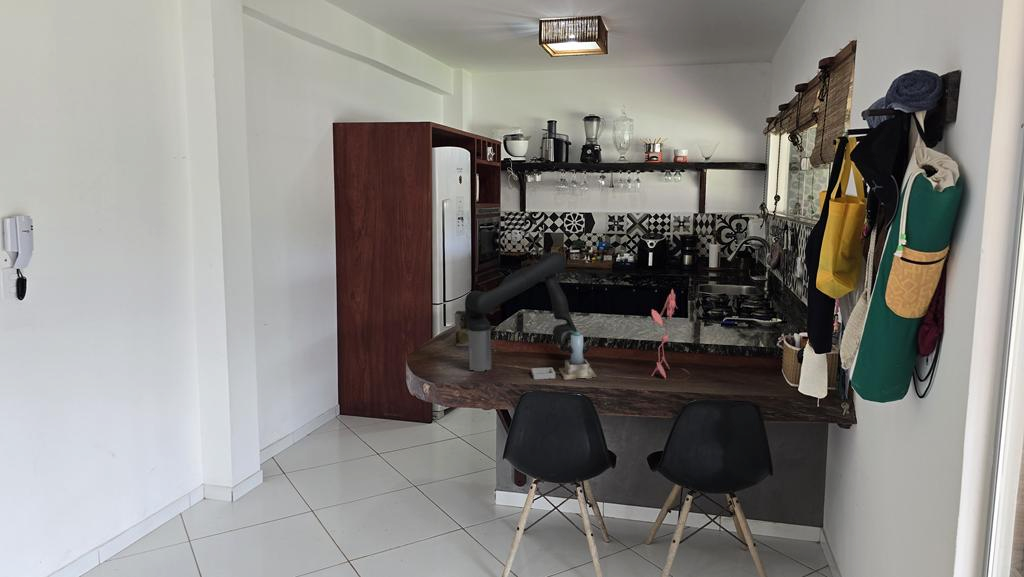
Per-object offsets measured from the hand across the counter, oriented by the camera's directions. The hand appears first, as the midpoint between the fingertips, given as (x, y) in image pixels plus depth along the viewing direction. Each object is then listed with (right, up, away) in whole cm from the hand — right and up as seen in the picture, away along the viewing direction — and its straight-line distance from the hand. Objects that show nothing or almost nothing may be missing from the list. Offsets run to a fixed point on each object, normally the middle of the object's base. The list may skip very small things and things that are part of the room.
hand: (578, 351), depth 286 cm
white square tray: (-14, -10, +3) cm, 18 cm away
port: (0, -10, +4) cm, 11 cm away
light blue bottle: (0, -7, +4) cm, 9 cm away
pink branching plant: (+37, -10, +1) cm, 39 cm away
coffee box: (-49, -2, +56) cm, 74 cm away
